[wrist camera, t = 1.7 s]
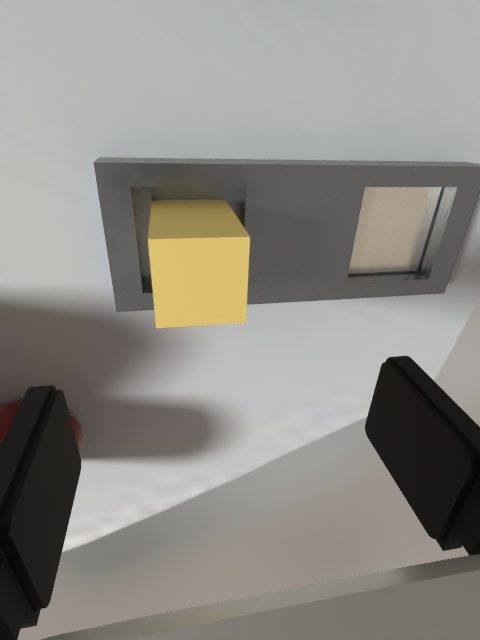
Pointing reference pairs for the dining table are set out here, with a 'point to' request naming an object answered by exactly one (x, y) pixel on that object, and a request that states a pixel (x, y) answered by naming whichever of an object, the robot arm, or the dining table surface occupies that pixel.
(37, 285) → the dining table surface
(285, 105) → the dining table surface
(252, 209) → the gray recessed board
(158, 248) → the yellow block
